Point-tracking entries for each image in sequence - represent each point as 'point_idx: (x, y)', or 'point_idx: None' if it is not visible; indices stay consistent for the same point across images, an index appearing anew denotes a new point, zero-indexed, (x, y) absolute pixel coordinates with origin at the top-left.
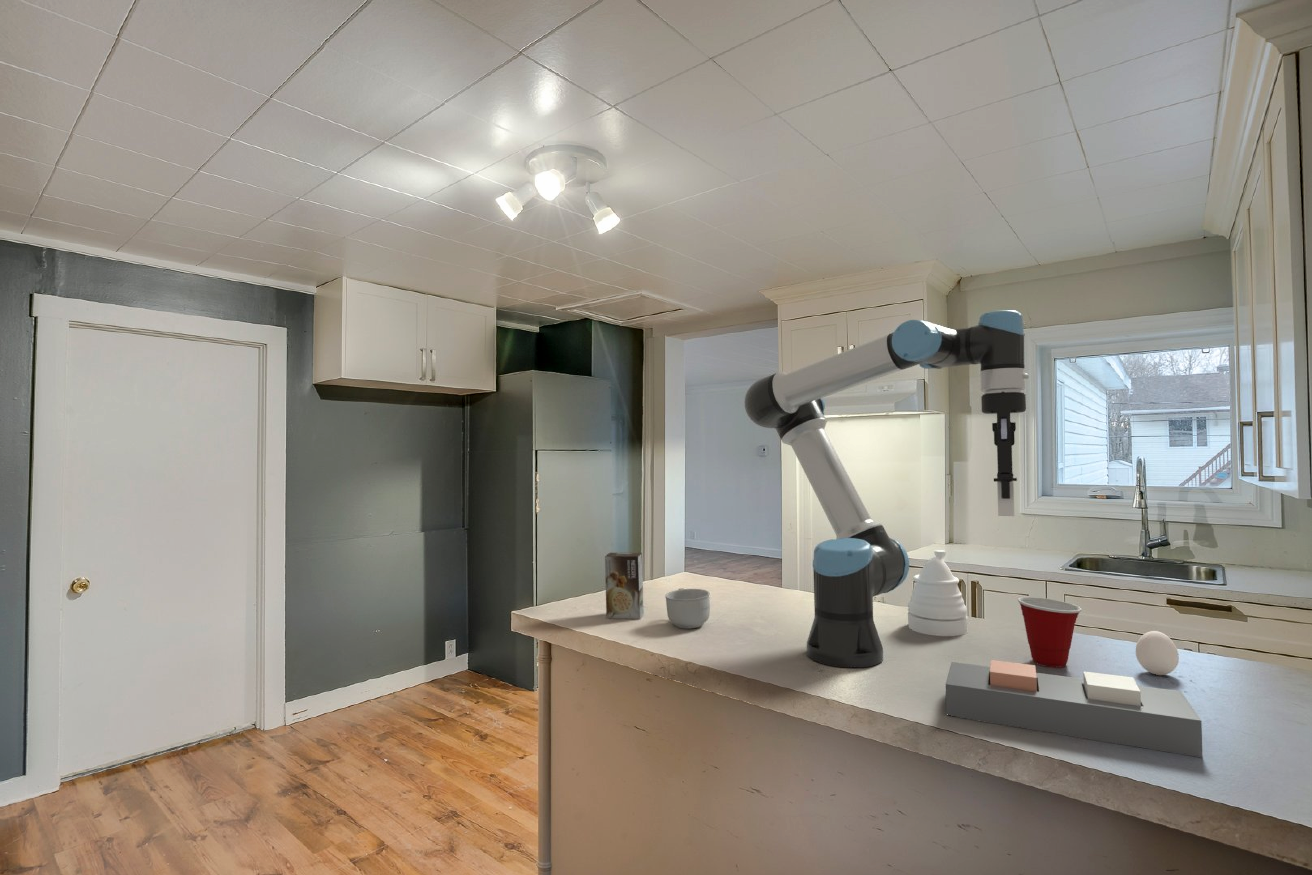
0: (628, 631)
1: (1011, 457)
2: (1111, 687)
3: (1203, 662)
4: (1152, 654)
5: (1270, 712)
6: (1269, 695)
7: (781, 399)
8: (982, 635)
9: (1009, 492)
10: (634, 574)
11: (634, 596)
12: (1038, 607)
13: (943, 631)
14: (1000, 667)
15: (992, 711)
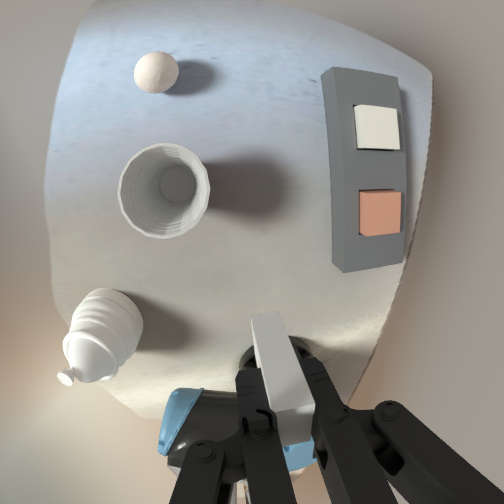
0: None
1: (466, 462)
2: (397, 130)
3: (94, 51)
4: (176, 74)
5: (242, 10)
6: (187, 5)
7: None
8: (106, 270)
9: (326, 374)
10: None
11: None
12: (207, 202)
13: (136, 311)
14: (386, 225)
15: None
